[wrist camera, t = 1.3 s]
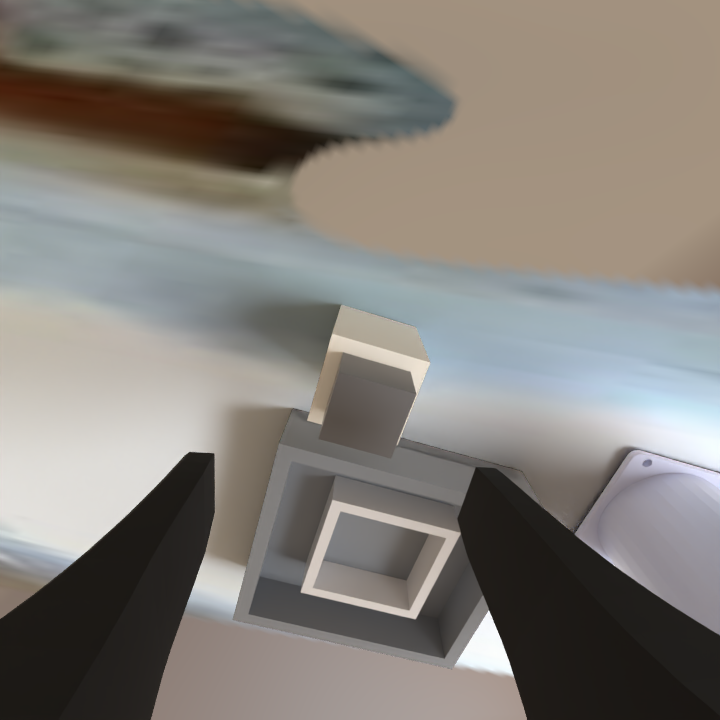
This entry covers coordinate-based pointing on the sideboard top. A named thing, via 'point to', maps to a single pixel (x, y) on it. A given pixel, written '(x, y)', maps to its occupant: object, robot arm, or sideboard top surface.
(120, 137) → the sideboard top surface
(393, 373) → the connector
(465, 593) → the walled box
